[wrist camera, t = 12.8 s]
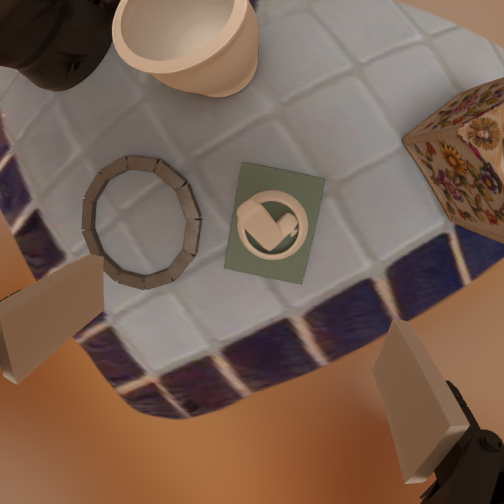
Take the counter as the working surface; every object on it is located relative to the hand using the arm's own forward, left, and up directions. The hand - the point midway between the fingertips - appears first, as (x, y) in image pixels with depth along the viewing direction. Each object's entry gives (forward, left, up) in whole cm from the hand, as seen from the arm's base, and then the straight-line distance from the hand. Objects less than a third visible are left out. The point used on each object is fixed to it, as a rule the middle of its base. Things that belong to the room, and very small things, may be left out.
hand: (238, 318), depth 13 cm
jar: (-17, -9, -23) cm, 30 cm away
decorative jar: (-13, +20, -23) cm, 33 cm away
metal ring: (+3, -16, -23) cm, 28 cm away
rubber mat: (0, 0, -23) cm, 23 cm away
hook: (0, 0, -22) cm, 22 cm away
